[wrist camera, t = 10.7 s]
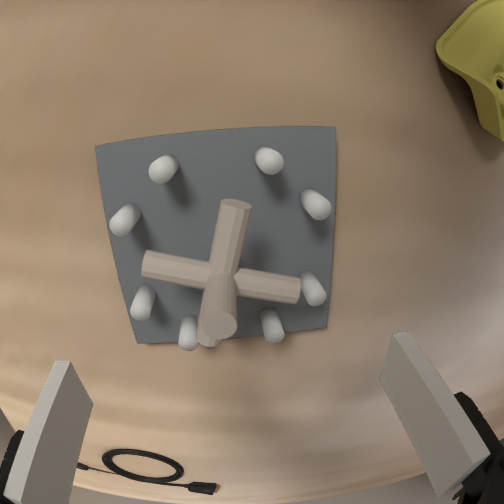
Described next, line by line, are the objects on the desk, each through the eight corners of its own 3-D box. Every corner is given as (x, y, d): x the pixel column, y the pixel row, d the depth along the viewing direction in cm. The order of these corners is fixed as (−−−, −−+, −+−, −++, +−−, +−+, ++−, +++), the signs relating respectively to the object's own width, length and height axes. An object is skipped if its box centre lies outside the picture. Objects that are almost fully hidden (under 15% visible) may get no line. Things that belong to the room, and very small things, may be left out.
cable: (53, 422, 35) (50, 429, 34) (231, 458, 41) (232, 466, 40) (67, 460, 40) (65, 466, 39) (215, 489, 46) (215, 495, 44)
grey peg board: (101, 144, 22) (79, 150, 18) (329, 126, 23) (351, 128, 19) (140, 334, 29) (131, 364, 25) (322, 318, 30) (336, 347, 26)
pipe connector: (154, 290, 26) (123, 373, 17) (169, 173, 22) (127, 212, 13) (269, 310, 27) (285, 398, 18) (301, 199, 24) (345, 254, 14)
